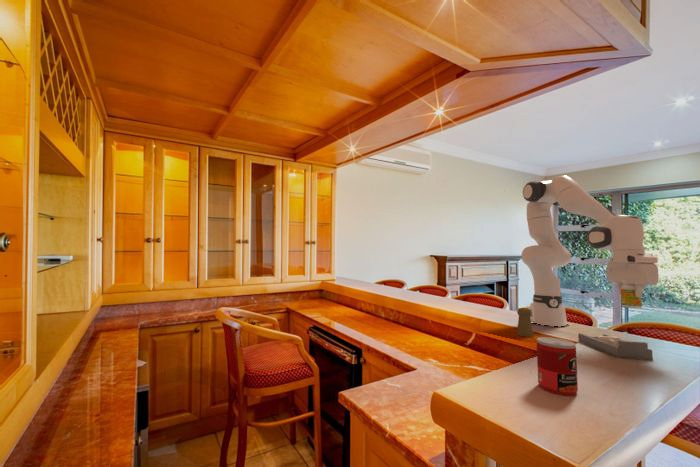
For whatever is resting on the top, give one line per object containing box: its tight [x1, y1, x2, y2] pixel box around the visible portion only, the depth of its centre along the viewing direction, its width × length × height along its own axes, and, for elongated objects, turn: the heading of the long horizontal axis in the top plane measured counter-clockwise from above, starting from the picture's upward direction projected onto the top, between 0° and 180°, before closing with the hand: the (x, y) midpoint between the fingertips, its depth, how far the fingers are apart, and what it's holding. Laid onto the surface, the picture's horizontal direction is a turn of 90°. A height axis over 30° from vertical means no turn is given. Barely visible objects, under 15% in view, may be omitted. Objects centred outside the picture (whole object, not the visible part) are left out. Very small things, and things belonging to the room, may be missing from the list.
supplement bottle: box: [620, 280, 642, 309], centre depth 112 cm, size 5×5×10 cm
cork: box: [516, 307, 534, 338], centre depth 128 cm, size 6×6×11 cm
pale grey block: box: [596, 335, 621, 347], centre depth 108 cm, size 4×7×3 cm, turn 82°
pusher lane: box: [577, 332, 654, 361], centre depth 108 cm, size 21×10×5 cm, turn 172°
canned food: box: [536, 336, 579, 397], centre depth 73 cm, size 8×8×11 cm
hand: (630, 296), depth 112 cm, fingers closed on supplement bottle, 5 cm apart
